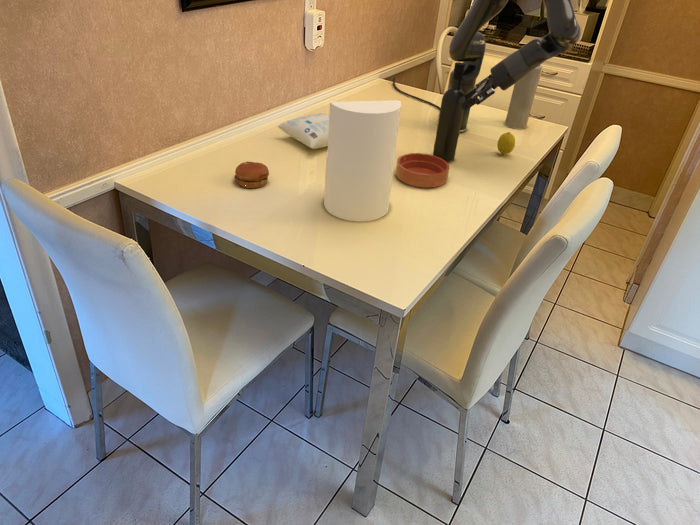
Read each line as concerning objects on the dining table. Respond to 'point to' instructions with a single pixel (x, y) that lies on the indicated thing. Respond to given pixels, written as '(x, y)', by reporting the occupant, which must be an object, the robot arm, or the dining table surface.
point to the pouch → (308, 129)
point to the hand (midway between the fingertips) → (463, 104)
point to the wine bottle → (450, 117)
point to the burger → (251, 174)
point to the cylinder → (360, 158)
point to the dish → (422, 170)
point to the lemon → (506, 143)
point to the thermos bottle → (522, 100)
